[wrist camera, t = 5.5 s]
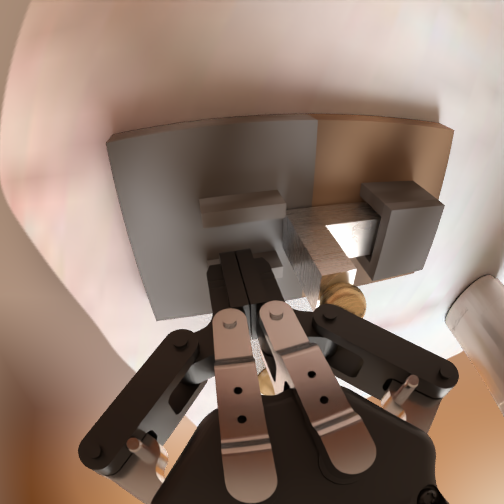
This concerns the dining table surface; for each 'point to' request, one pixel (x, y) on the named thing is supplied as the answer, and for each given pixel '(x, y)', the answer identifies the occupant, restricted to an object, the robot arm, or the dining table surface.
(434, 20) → the dining table surface
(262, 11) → the dining table surface
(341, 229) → the bolt
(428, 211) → the lock plate
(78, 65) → the dining table surface
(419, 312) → the dining table surface
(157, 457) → the robot arm
